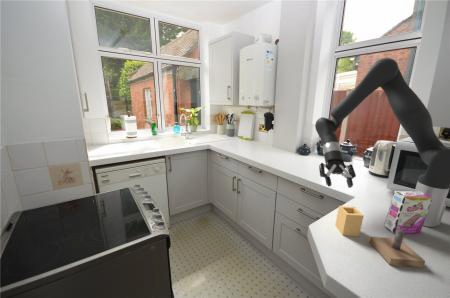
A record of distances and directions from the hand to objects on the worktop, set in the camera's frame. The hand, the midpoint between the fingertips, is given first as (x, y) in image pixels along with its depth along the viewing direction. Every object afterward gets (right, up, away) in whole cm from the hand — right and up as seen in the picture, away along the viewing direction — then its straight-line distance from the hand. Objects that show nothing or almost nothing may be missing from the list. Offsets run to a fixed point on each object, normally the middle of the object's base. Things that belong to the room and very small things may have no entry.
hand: (340, 186), depth 84 cm
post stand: (+8, -20, -18) cm, 27 cm away
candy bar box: (+22, -17, -5) cm, 28 cm away
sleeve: (-1, -16, -6) cm, 18 cm away
